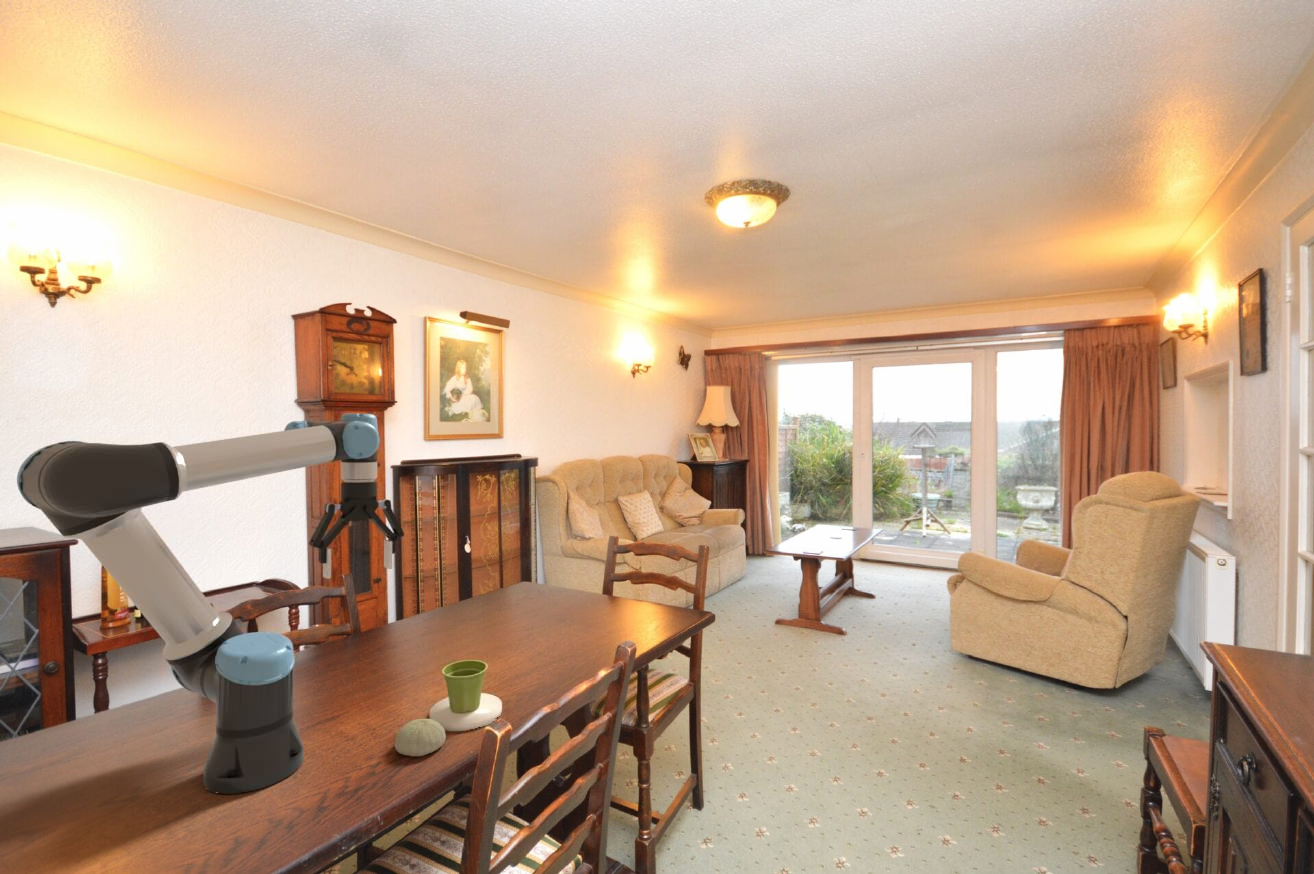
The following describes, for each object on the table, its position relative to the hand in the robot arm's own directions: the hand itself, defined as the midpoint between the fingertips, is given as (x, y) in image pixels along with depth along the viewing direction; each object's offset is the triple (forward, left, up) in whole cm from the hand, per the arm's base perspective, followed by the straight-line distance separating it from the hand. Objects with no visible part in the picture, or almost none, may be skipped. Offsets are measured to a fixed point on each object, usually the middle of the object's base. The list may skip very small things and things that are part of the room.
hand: (358, 572), depth 140 cm
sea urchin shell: (-1, -32, -29) cm, 43 cm away
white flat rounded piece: (+13, -26, -29) cm, 41 cm away
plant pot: (+12, -26, -27) cm, 40 cm away
